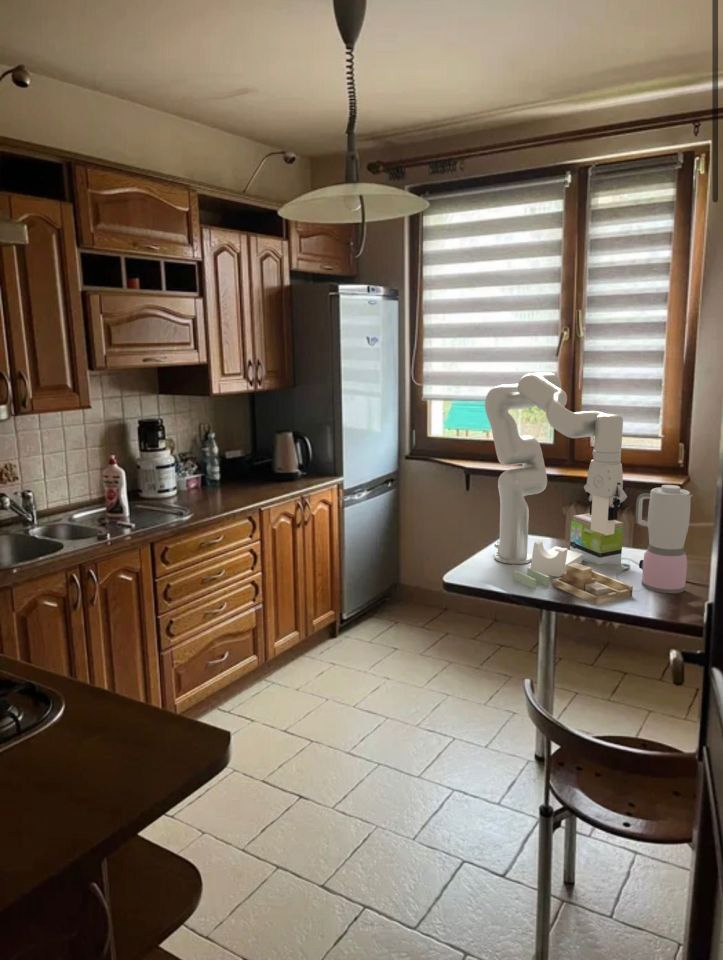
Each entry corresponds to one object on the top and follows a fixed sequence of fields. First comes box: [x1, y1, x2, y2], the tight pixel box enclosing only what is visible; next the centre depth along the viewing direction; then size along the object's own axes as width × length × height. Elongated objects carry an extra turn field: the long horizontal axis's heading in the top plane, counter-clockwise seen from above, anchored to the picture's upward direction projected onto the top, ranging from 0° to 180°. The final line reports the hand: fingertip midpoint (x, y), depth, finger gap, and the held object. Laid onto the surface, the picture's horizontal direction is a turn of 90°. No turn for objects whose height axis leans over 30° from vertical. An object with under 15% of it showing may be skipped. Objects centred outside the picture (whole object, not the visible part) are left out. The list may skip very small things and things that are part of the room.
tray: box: [552, 570, 634, 605], centre depth 212 cm, size 18×14×4 cm
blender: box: [635, 484, 694, 594], centre depth 213 cm, size 16×12×32 cm
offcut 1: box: [566, 563, 593, 580], centre depth 213 cm, size 6×4×3 cm, turn 35°
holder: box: [513, 567, 550, 590], centre depth 219 cm, size 10×8×4 cm
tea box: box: [569, 512, 624, 566], centre depth 243 cm, size 15×10×15 cm, turn 25°
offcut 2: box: [561, 572, 595, 591], centre depth 213 cm, size 9×4×4 cm, turn 27°
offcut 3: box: [585, 583, 608, 596], centre depth 206 cm, size 5×4×4 cm
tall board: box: [591, 493, 616, 535], centre depth 209 cm, size 6×3×15 cm, turn 27°
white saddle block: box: [530, 540, 583, 578], centre depth 233 cm, size 18×10×10 cm, turn 141°
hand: (603, 516), depth 209 cm, fingers closed on tall board, 6 cm apart
